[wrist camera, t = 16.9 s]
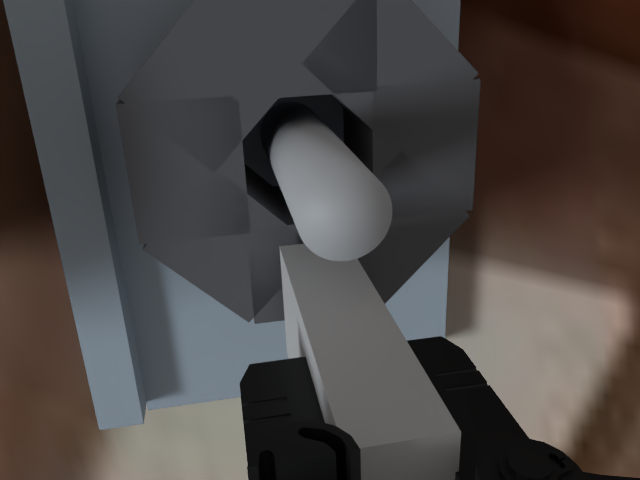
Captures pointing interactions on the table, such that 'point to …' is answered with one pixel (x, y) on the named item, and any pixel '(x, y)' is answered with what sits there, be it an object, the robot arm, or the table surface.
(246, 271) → the faceted octagonal hub
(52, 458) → the table surface
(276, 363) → the robot arm
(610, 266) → the table surface
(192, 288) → the tray
